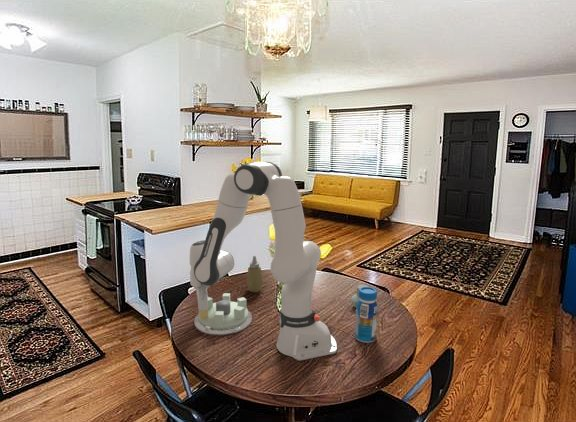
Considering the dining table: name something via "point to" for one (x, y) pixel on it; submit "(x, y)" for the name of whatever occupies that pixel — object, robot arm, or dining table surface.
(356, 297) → the air freshener
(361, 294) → the blue wipes canister
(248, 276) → the squeeze bottle
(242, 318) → the green toy gear
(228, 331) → the mount plate
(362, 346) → the dining table surface
